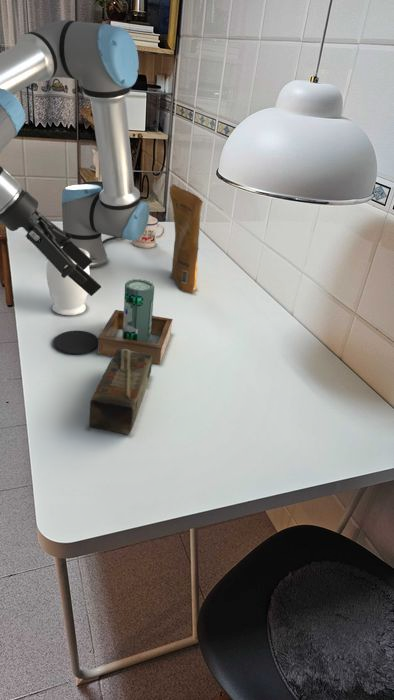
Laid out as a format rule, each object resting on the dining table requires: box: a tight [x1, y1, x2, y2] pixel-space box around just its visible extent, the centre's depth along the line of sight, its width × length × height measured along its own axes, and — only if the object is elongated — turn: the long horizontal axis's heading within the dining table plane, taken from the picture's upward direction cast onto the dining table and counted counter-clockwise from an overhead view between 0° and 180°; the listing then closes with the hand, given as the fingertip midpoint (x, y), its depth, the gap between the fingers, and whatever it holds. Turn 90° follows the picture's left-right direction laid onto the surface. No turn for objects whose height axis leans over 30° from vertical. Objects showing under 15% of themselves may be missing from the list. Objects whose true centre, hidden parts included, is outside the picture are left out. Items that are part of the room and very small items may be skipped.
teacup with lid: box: [131, 214, 166, 249], centre depth 169 cm, size 12×9×12 cm
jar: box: [46, 247, 91, 316], centre depth 118 cm, size 11×10×15 cm
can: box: [122, 278, 155, 343], centre depth 107 cm, size 6×6×15 cm
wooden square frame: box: [97, 309, 173, 365], centre depth 109 cm, size 14×14×4 cm
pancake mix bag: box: [169, 183, 203, 294], centre depth 138 cm, size 7×19×28 cm, turn 20°
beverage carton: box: [88, 349, 153, 435], centre depth 90 cm, size 8×19×7 cm, turn 174°
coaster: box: [53, 330, 98, 356], centre depth 108 cm, size 10×10×1 cm
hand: (91, 277), depth 99 cm, fingers open, 13 cm apart
